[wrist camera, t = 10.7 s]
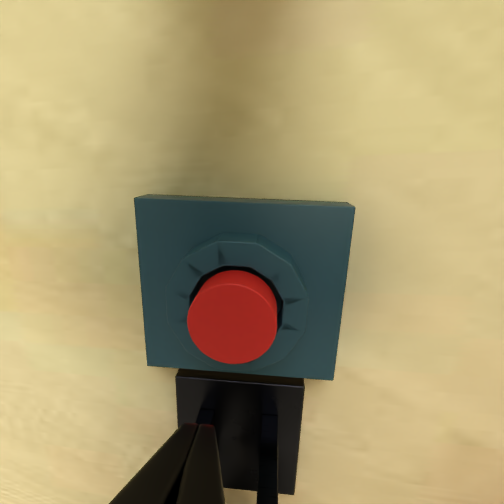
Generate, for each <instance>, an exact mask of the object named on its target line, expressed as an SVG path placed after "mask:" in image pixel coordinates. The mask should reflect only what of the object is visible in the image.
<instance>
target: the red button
mask: <svg viewBox="0 0 504 504" xmlns="http://www.w3.org/2000/svg"><path fill="white" fill-rule="evenodd" d="M187 325H188V330H189V334H190V336H191V338H192V340H193V342H194V343H195V345H196V346H197V347H198V348H199V349H200V351H202V352H203V353H204V354H205V355H207V356H208V357H210V358H212V359H214V360H216V361H219V362H223V363H228V364H242V363H247V362H250V361H253V360H255V359H257V358H259V357H260V356H262V355H263V354H264V353H265V352H266V351H267V350H268V349H269V348H270V346H271V345H272V343H273V341H274V339H275V336H276V332H277V303H276V299H275V296H274V294H273V292H272V290H271V289H270V287H269V286H268V285H267V284H266V283H265V282H264V281H263V280H262V279H260V278H259V277H258V276H256V275H254V274H251V273H249V272H245V271H240V270H229V271H224V272H220V273H218V274H216V275H214V276H212V277H211V278H209V279H208V280H207V281H206V282H205V283H204V284H203V286H202V287H201V289H200V290H199V292H198V294H197V295H196V297H195V298H194V300H193V302H192V304H191V306H190V308H189V311H188V316H187Z"/></svg>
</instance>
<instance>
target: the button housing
mask: <svg viewBox="0 0 504 504" xmlns="http://www.w3.org/2000/svg"><path fill="white" fill-rule="evenodd" d="M134 204H135V216H136V229H137V242H138V254H139V267H140V279H141V292H142V305H143V317H144V330H145V342H146V355H147V366H157V367H169V368H182V369H195V370H207V371H220V372H232V373H245V374H257V375H270V376H282V377H295V378H307V379H320V380H333V378H334V370H335V363H336V355H337V347H338V339H339V331H340V324H341V316H342V308H343V300H344V292H345V285H346V277H347V269H348V261H349V253H350V246H351V238H352V230H353V222H354V214H355V207H354V206H352V205H351V204H349V203H347V202H324V201H300V200H275V199H250V198H226V197H201V196H177V195H152V194H147V195H143V196H139V197H135V198H134ZM229 270H240V271H245V272H249V273H251V274H254V275H256V276H258V277H259V278H260V279H262V280H263V281H264V282H265V283H266V284H267V285H268V286H269V287H270V289H271V290H272V292H273V294H274V296H275V299H276V303H277V332H276V336H275V339H274V341H273V343H272V345H271V346H270V348H269V349H268V350H267V351H266V352H265V353H264V354H263V355H262V356H260V357H259V358H257V359H255V360H253V361H250V362H247V363H242V364H228V363H223V362H219V361H216V360H214V359H212V358H210V357H208V356H207V355H205V354H204V353H203V352H202V351H200V349H199V348H198V347H197V346H196V345H195V343H194V342H193V340H192V338H191V336H190V334H189V330H188V325H187V316H188V311H189V308H190V306H191V304H192V302H193V300H194V298H195V297H196V295H197V294H198V292H199V290H200V289H201V287H202V286H203V284H204V283H205V282H206V281H207V280H208V279H209V278H211V277H212V276H214V275H216V274H218V273H220V272H224V271H229Z"/></svg>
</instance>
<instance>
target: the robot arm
mask: <svg viewBox="0 0 504 504" xmlns="http://www.w3.org/2000/svg"><path fill="white" fill-rule="evenodd" d="M109 504H225V498H224V490H223V483H222V476H221V468H220V461H219V454H218V446H217V439H216V432H215V427H214V425H208V424H200V425H198V424H197V423H183V424H182V425H181V426H180V427H179V428H178V429H177V430H176V431H175V432H174V434H173V435H172V436H171V437H170V438H169V439H168V440H167V441H166V442H165V443H164V444H163V446H162V447H161V448H160V449H159V450H158V451H157V452H156V453H155V454H154V455H153V456H152V457H151V459H150V460H149V461H148V462H147V463H146V464H145V465H144V466H143V467H142V468H141V469H140V470H139V472H138V473H137V474H136V475H135V476H134V477H133V478H132V479H131V480H130V481H129V482H128V484H127V485H126V486H125V487H124V488H123V489H122V490H121V491H120V492H119V493H118V494H117V495H116V497H115V498H114V499H113V500H112V501H111V502H110V503H109Z"/></svg>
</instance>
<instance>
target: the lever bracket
mask: <svg viewBox="0 0 504 504" xmlns="http://www.w3.org/2000/svg"><path fill="white" fill-rule="evenodd" d="M304 389H305V386H304V378H295V377H282V376H270V375H257V374H245V373H232V372H220V371H207V370H195V369H182V368H179V370H178V372H177V375H176V397H177V418H178V428H179V427H180V426H181V425H182V424H183V423H197V424H198V425H200V424H208V425H214V427H215V432H216V439H217V446H218V454H219V461H220V468H221V476H222V483H223V488H231V489H241V490H250V491H257V503H256V504H278V493H279V494H288V495H294V493H295V482H296V472H297V462H298V451H299V441H300V431H301V420H302V410H303V400H304Z"/></svg>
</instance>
